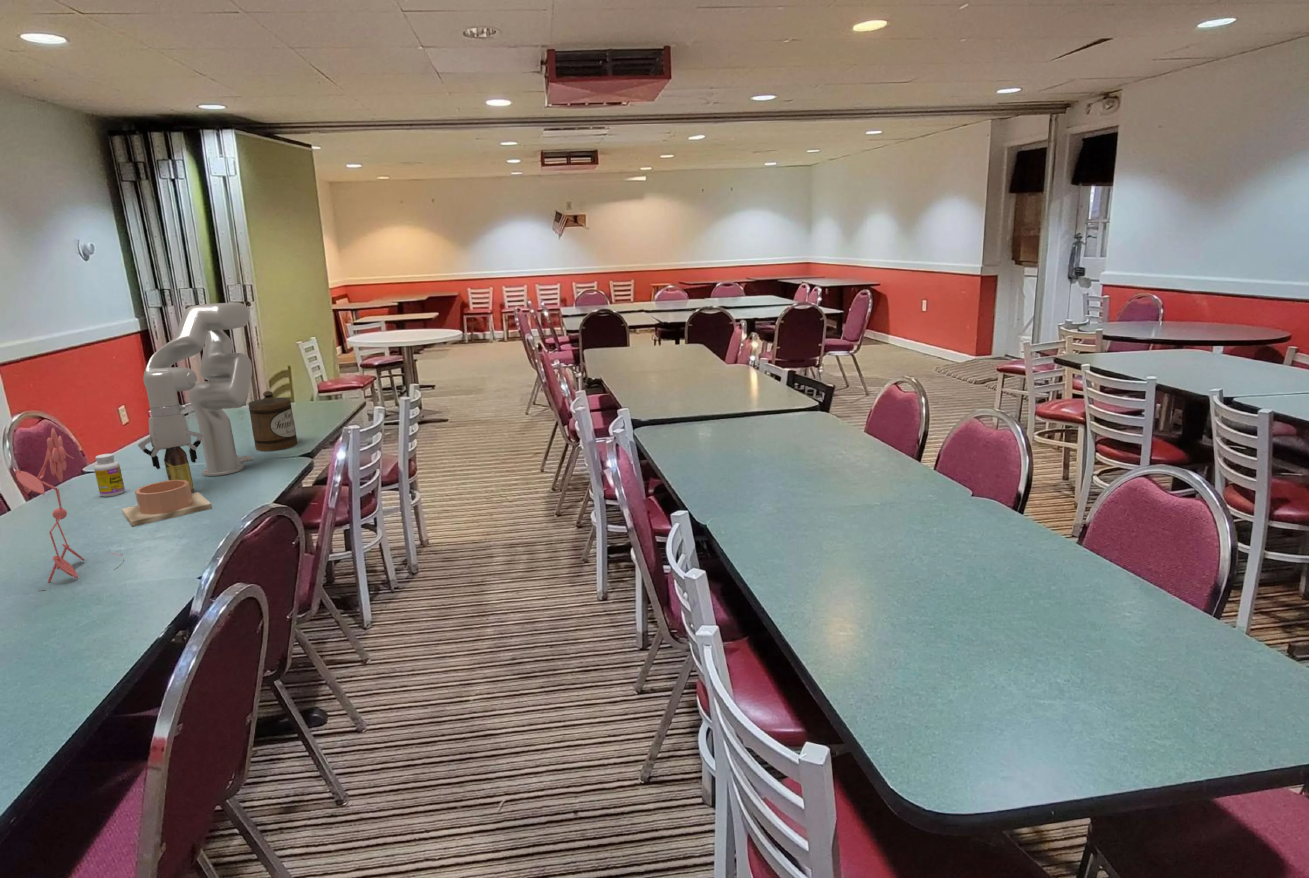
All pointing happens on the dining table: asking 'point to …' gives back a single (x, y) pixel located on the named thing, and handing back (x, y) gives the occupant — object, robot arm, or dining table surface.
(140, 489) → the jar collar
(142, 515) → the birch board
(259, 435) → the wooden container
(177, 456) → the sauce bottle
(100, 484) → the supplement bottle
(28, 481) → the figurine
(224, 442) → the robot arm
